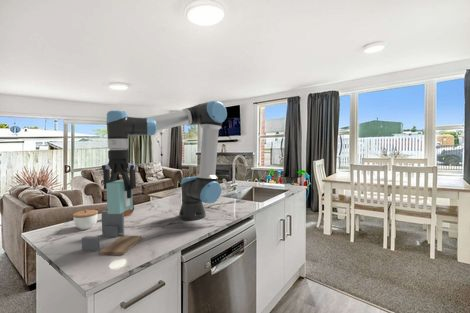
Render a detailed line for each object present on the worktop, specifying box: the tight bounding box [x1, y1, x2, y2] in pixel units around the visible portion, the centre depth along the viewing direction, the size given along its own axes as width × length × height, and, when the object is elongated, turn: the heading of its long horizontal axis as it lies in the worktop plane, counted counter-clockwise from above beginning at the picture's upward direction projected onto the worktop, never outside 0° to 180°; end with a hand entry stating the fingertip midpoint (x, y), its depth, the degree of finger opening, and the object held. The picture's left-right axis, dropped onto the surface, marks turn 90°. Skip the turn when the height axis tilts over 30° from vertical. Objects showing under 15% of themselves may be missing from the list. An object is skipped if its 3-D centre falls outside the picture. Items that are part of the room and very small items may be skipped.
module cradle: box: [81, 210, 126, 252], centre depth 103 cm, size 10×17×11 cm, turn 176°
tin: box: [106, 204, 135, 218], centre depth 139 cm, size 15×3×8 cm, turn 139°
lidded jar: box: [72, 208, 99, 231], centre depth 121 cm, size 11×11×9 cm
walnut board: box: [99, 234, 143, 256], centre depth 99 cm, size 9×16×1 cm, turn 176°
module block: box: [106, 179, 134, 214], centre depth 98 cm, size 5×10×12 cm, turn 176°
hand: (120, 205), depth 98 cm, fingers closed on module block, 5 cm apart
